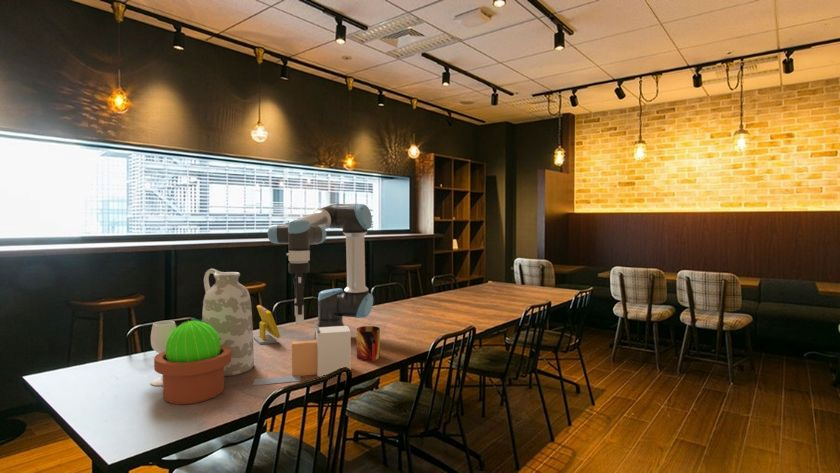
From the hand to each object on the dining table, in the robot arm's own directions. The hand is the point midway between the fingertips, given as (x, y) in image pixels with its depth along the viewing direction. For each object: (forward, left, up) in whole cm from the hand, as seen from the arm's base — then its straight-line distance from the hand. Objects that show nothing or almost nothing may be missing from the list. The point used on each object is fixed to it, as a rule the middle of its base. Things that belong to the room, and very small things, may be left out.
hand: (299, 319), depth 166 cm
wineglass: (-5, -46, -21) cm, 50 cm away
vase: (-14, -27, -21) cm, 37 cm away
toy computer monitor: (-51, -14, -21) cm, 57 cm away
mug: (-12, +29, -21) cm, 38 cm away
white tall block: (0, +12, -21) cm, 24 cm away
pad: (+4, -8, -21) cm, 22 cm away
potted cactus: (+10, -34, -21) cm, 41 cm away
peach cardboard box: (0, +4, -21) cm, 21 cm away
